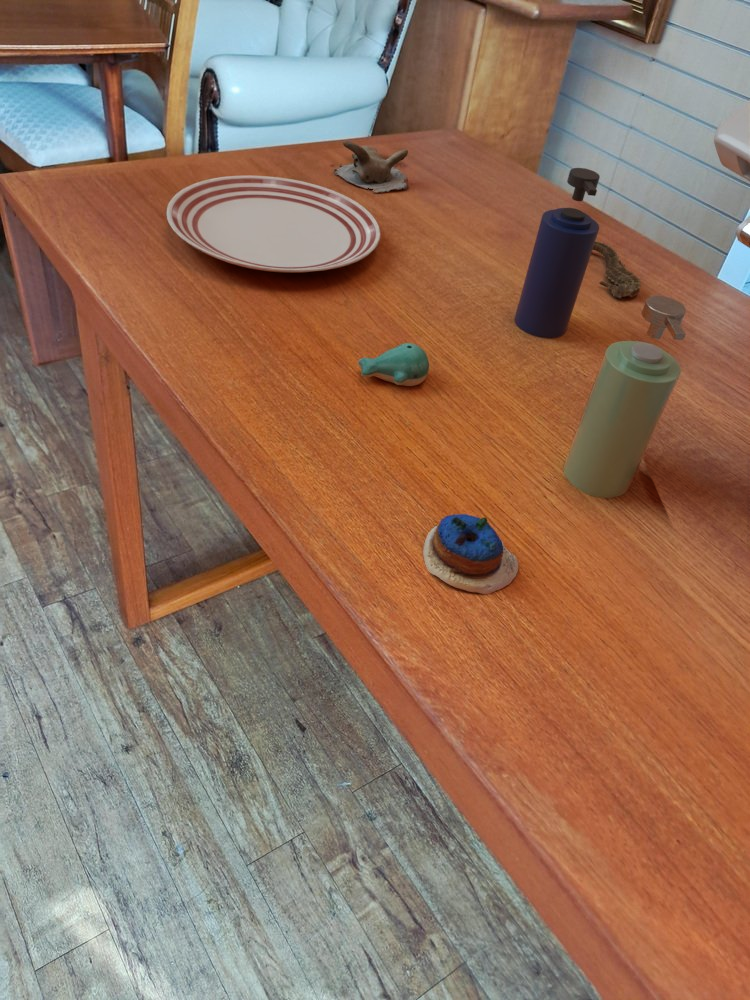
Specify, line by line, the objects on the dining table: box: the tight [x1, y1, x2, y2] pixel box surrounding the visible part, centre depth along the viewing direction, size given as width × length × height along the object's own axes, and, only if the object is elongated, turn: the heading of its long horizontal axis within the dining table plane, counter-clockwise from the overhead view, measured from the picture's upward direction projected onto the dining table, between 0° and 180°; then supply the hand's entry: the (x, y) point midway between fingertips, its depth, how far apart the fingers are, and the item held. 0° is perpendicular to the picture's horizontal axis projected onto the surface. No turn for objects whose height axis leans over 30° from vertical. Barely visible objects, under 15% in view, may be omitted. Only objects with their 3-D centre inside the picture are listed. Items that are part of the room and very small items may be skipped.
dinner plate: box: [166, 175, 381, 273], centre depth 103 cm, size 27×27×3 cm
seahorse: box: [592, 241, 642, 299], centre depth 108 cm, size 6×15×2 cm, turn 13°
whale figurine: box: [357, 342, 430, 387], centre depth 83 cm, size 6×7×4 cm
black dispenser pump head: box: [566, 167, 601, 202], centre depth 84 cm, size 3×6×3 cm, turn 2°
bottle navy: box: [514, 207, 600, 339], centre depth 92 cm, size 6×6×14 cm
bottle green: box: [562, 340, 682, 499], centre depth 71 cm, size 6×6×14 cm
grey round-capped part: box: [641, 295, 687, 341], centre depth 64 cm, size 3×6×3 cm, turn 2°
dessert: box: [422, 513, 519, 595], centre depth 65 cm, size 8×7×6 cm
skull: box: [333, 141, 409, 194], centre depth 122 cm, size 10×12×6 cm
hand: (749, 245), depth 60 cm, fingers closed
